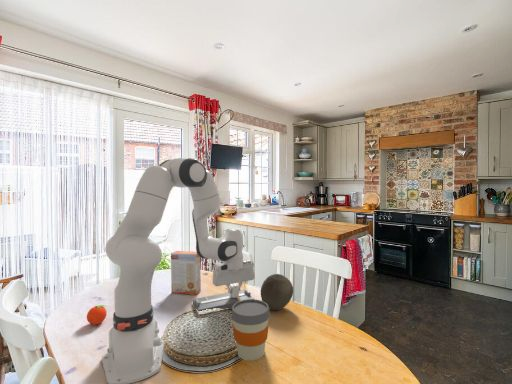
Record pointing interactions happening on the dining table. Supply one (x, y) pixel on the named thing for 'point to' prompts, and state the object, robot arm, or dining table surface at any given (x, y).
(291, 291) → the dark grey stone
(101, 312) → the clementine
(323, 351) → the dining table surface
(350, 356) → the dining table surface
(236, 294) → the fader
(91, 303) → the dining table surface
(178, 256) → the cracker box
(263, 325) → the reusable coffee cup
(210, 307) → the console
